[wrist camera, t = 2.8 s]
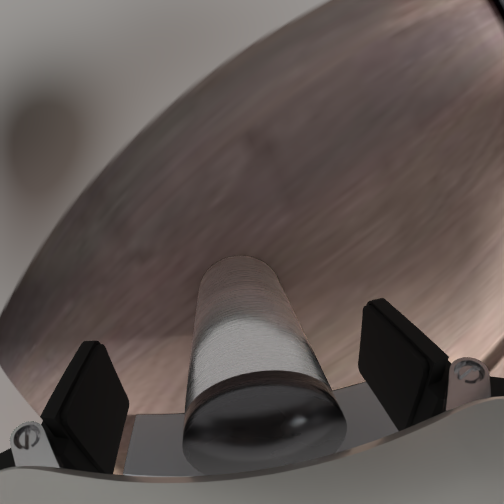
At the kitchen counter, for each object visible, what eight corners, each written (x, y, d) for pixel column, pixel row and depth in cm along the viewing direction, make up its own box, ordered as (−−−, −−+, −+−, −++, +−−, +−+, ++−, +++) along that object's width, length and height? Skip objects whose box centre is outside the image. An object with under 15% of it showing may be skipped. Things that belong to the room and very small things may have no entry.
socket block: (373, 379, 17) (407, 430, 13) (348, 481, 22) (362, 517, 18) (136, 414, 16) (123, 473, 12) (194, 505, 21) (194, 543, 16)
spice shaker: (276, 250, 14) (355, 376, 5) (282, 322, 15) (339, 468, 7) (191, 261, 14) (160, 405, 5) (206, 333, 15) (203, 489, 6)
